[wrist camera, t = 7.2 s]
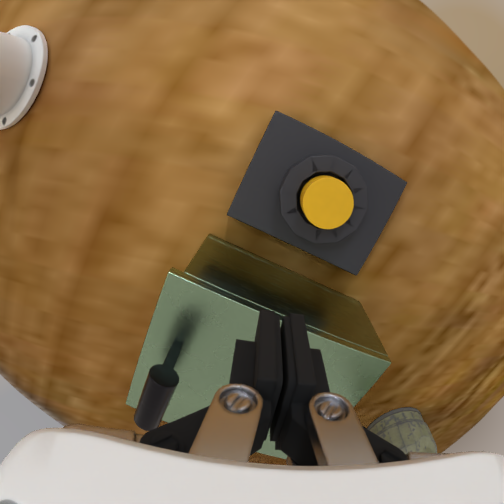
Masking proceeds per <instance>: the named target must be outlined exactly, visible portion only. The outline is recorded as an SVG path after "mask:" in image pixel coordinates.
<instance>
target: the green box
mask: <svg viewBox="0 0 504 504" xmlns="http://www.w3.org/2000/svg"><path fill="white" fill-rule="evenodd" d="M184 273H186V274H188V275H190V276H193V277H195V278H197V279H199V280H202V281H204V282H206V283H208V284H210V285H213V286H215V287H217V288H219V289H222V290H224V291H226V292H229V293H231V294H233V295H235V296H238V297H240V298H242V299H245V300H247V301H249V302H252V303H254V304H256V305H259V306H261V307H263V308H266V309H268V310H271V311H274V312H275V313H278V314H280V315H283V316H288V315H289V313H293V314H301V315H304V319H305V324H306V325H307V326H310V327H312V328H315V329H317V330H320V331H322V332H325V333H327V334H330V335H332V336H335V337H337V338H340V339H343V340H345V341H348V342H350V343H353V344H356V345H358V346H361V347H364V348H366V349H369V350H372V351H374V352H377V353H380V354H382V355H385V356H388V355H387V353H386V351H385V349H384V347H383V345H382V343H381V341H380V339H379V337H378V335H377V333H376V332H375V330H374V328H373V326H372V324H371V322H370V320H369V318H368V316H367V314H366V313H365V311H364V309H363V307H362V305H361V303H360V302H359V301H357V300H355V299H353V298H351V297H348V296H346V295H344V294H342V293H339V292H337V291H335V290H333V289H331V288H328V287H326V286H324V285H322V284H320V283H317V282H315V281H313V280H311V279H308V278H306V277H304V276H302V275H300V274H297V273H295V272H293V271H291V270H289V269H286V268H284V267H282V266H280V265H277V264H275V263H273V262H271V261H269V260H266V259H264V258H262V257H260V256H258V255H255V254H253V253H251V252H249V251H247V250H244V249H242V248H240V247H238V246H235V245H233V244H231V243H229V242H227V241H224V240H222V239H220V238H218V237H216V236H213V235H211V234H209V235H208V236H207V238H206V239H205V241H204V242H203V244H202V245H201V247H200V248H199V250H198V251H197V253H196V254H195V256H194V257H193V259H192V261H191V262H190V264H189V265H188V267H187V268H186V270H185V271H184Z"/></svg>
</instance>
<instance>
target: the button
mask: <svg viewBox="0 0 504 504" xmlns="http://www.w3.org/2000/svg"><path fill="white" fill-rule="evenodd" d="M300 205H301V208H302V210H303V212H304V214H305V216H306V218H307V219H308V220H309V221H310V222H311V223H312V224H313V225H314V226H316V227H318V228H322V229H334V228H337V227H339V226H341V225H343V224H344V223H345V222H346V221H347V220H348V219H349V217H350V216H351V214H352V211H353V207H354V199H353V195H352V192H351V190H350V189H349V187H348V186H347V185H346V184H345V183H344V182H342V181H341V180H338V179H336V178H334V177H332V176H327V175H322V176H317V177H314V178H312V179H311V180H309V181H308V182H307V183H306V184H305V186H304V187H303V189H302V191H301V195H300Z"/></svg>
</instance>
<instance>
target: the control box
mask: <svg viewBox="0 0 504 504" xmlns="http://www.w3.org/2000/svg"><path fill="white" fill-rule="evenodd" d="M322 175H327V176H332V177H334V178H336V179H338V180H341V181H342V182H344V183H345V184H346V185H347V186H348V187H349V189H350V190H351V192H352V195H353V199H354V207H353V211H352V214H351V216H350V217H349V219H348V220H347V221H346V222H345V223H344V224H343V225H341V226H339V227H337V228H334V229H322V228H318V227H316V226H314V225H313V224H312V223H311V222H310V221H309V220H308V219H307V218H306V216H305V214H304V212H303V210H302V208H301V205H300V195H301V191H302V189H303V187H304V186H305V184H306V183H307V182H308V181H309V180H311V179H312V178H314V177H317V176H322ZM406 184H407V182H405V181H404V180H402V179H401V178H399V177H398V176H396V175H394V174H393V173H391V172H390V171H388V170H386V169H385V168H383V167H382V166H380V165H378V164H377V163H375V162H373V161H372V160H370V159H368V158H367V157H365V156H363V155H361V154H360V153H358V152H356V151H354V150H353V149H351V148H349V147H347V146H346V145H344V144H342V143H340V142H338V141H336V140H335V139H333V138H331V137H329V136H327V135H325V134H323V133H321V132H319V131H317V130H315V129H313V128H311V127H309V126H307V125H305V124H303V123H301V122H299V121H297V120H295V119H293V118H291V117H289V116H287V115H285V114H282V113H280V112H278V111H275V113H274V115H273V117H272V119H271V121H270V123H269V125H268V127H267V129H266V131H265V134H264V136H263V138H262V140H261V142H260V144H259V146H258V148H257V150H256V152H255V154H254V157H253V159H252V161H251V163H250V165H249V167H248V169H247V171H246V174H245V176H244V178H243V180H242V182H241V184H240V187H239V189H238V191H237V193H236V195H235V197H234V200H233V202H232V204H231V206H230V208H229V211H228V213H227V215H228V216H230V217H232V218H235V219H237V220H239V221H241V222H243V223H246V224H248V225H250V226H252V227H254V228H257V229H259V230H261V231H263V232H265V233H267V234H270V235H272V236H274V237H276V238H278V239H280V240H282V241H285V242H287V243H289V244H291V245H293V246H295V247H297V248H300V249H302V250H304V251H306V252H308V253H310V254H312V255H314V256H316V257H319V258H321V259H323V260H325V261H327V262H329V263H331V264H333V265H335V266H337V267H340V268H342V269H344V270H346V271H348V272H350V273H352V274H354V275H357V274H358V272H359V271H360V269H361V267H362V266H363V264H364V262H365V261H366V259H367V257H368V255H369V254H370V252H371V250H372V248H373V247H374V245H375V243H376V241H377V239H378V238H379V236H380V234H381V232H382V230H383V228H384V227H385V225H386V223H387V221H388V219H389V217H390V215H391V214H392V212H393V210H394V208H395V206H396V204H397V202H398V200H399V198H400V196H401V194H402V192H403V190H404V188H405V186H406Z"/></svg>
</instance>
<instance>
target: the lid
mask: <svg viewBox="0 0 504 504" xmlns="http://www.w3.org/2000/svg"><path fill="white" fill-rule="evenodd" d="M260 309H263V310H268V309H266V308H263V307H261V306H259V305H256V304H254V303H252V302H249V301H247V300H245V299H242V298H240V297H238V296H235V295H233V294H231V293H229V292H226V291H224V290H222V289H219V288H217V287H215V286H213V285H210V284H208V283H206V282H204V281H202V280H199V279H197V278H195V277H193V276H190V275H188V274H186V273H184V272H182V271H180V270H177V269H175V268H173V267H172V268H171V269H170V271H169V272H168V275H167V277H166V280H165V283H164V285H163V288H162V291H161V294H160V297H159V300H158V302H157V305H156V308H155V311H154V314H153V317H152V320H151V323H150V326H149V329H148V332H147V335H146V338H145V341H144V344H143V347H142V350H141V354H140V357H139V360H138V363H137V366H136V370H135V373H134V376H133V380H132V383H131V387H130V390H129V393H128V397H127V400H126V404H127V405H129V406H131V407H133V408H135V409H136V411H135V414H134V421H135V423H136V424H137V426H139V427H140V428H141V429H143V430H147V431H151V430H153V429H155V428H158V427H159V425H160V422H161V420H163V421H165V422H168V423H170V422H173V421H175V420H177V419H180V418H182V417H185V416H187V415H189V414H192V413H194V412H196V411H198V410H201V409H203V408H205V407H207V406H209V405H210V404H211V402H212V399H213V397H214V395H215V393H216V392H217V390H218V389H219V388H221V387H222V386H224V385H228V384H229V381H230V374H231V368H232V362H233V355H234V349H235V343H236V339H240V340H246V341H254V340H255V335H256V329H257V324H258V318H259V313H260ZM270 311H271V310H270ZM275 315H279V316H280V328H281V323H282V319H283V315H280V314H278V313H275ZM306 329H307V334H308V339H309V345H310V348H313V349H320V350H321V354H322V358H323V362H324V367H325V371H326V376H327V380H328V385H329V389H330V392H332V393H336V394H339V395H341V396H343V397H345V398H346V399H347V400H349V401H350V403H351V404H352V406H353V407H354V406H355V405H356V404H357V403H358V402H359V401H360V399H361V398H362V397H363V396H364V395H365V394H366V393H367V391H368V390H369V389H370V388H371V387H372V386H373V385H374V383H375V382H376V381H377V380H378V379H379V377H380V376H381V375H382V374H383V373H384V371H385V370H386V369H387V368H388V366H389V365H390V364H391V361H390V359H389V357H388V356H385V355H382V354H380V353H377V352H374V351H372V350H369V349H366V348H364V347H361V346H358V345H356V344H353V343H350V342H348V341H345V340H343V339H340V338H337V337H335V336H332V335H330V334H327V333H325V332H322V331H320V330H317V329H315V328H312V327H310V326H307V325H306ZM256 452H258V453H262V454H266V455H270V456H275V457H279V458H283V459H287V455H286V454H285V453H284V452H282V451H281V450H275V441H270V429H269V432H268V435H267V438H266V441H264V442H263V445H262V448H261V449H260V450H258V451H256Z"/></svg>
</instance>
